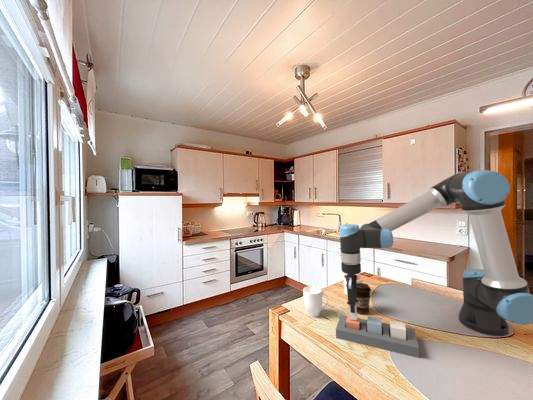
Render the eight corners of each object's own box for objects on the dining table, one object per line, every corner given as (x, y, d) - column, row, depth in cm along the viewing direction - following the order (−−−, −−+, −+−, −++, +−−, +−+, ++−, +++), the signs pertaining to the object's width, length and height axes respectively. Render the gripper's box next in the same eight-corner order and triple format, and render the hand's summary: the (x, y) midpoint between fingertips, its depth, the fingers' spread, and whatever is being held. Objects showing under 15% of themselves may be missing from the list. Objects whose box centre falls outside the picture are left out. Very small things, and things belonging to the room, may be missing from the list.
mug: (305, 319, 105) (304, 293, 105) (303, 310, 114) (301, 286, 114) (330, 318, 105) (329, 292, 105) (326, 309, 114) (325, 285, 114)
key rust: (360, 329, 95) (360, 318, 94) (359, 336, 90) (359, 324, 90) (348, 326, 97) (347, 315, 97) (346, 333, 92) (345, 321, 92)
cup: (340, 292, 131) (339, 275, 131) (354, 289, 134) (354, 273, 134) (351, 300, 122) (351, 281, 122) (367, 296, 125) (366, 278, 125)
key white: (405, 335, 87) (404, 322, 87) (406, 342, 83) (405, 330, 83) (390, 332, 89) (389, 320, 89) (390, 339, 85) (390, 326, 85)
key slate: (381, 330, 91) (381, 318, 91) (381, 337, 86) (381, 325, 86) (368, 327, 93) (367, 316, 93) (367, 334, 89) (367, 322, 89)
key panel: (414, 337, 89) (414, 328, 89) (419, 357, 78) (419, 347, 78) (340, 322, 102) (340, 314, 101) (336, 337, 91) (335, 329, 91)
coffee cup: (374, 317, 104) (372, 289, 104) (354, 316, 106) (353, 288, 106) (369, 307, 113) (368, 282, 113) (351, 307, 115) (350, 281, 114)
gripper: (343, 257, 100) (346, 309, 101) (338, 266, 89) (341, 325, 89) (361, 258, 97) (364, 312, 97) (359, 268, 85) (361, 329, 86)
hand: (353, 318), depth 93 cm, fingers closed
